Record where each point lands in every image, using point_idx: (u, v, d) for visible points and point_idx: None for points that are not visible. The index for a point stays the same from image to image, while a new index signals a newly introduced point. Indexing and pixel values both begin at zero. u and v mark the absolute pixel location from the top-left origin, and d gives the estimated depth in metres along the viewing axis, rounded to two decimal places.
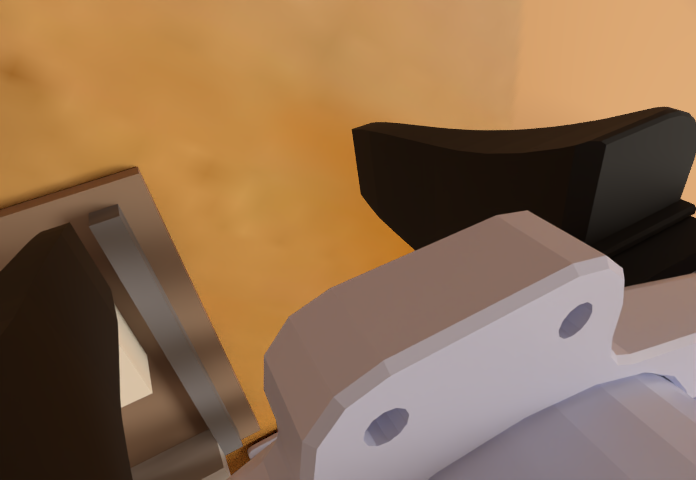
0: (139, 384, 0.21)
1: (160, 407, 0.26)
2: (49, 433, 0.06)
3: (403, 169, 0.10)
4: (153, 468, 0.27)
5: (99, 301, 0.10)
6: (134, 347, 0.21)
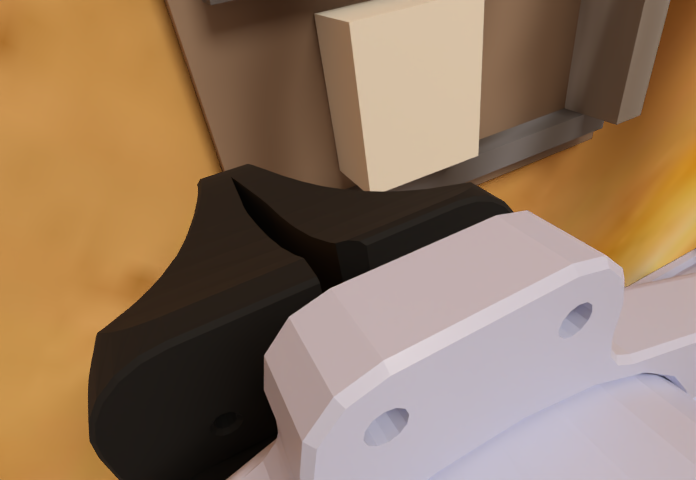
0: (462, 2, 0.14)
1: None
2: None
3: (259, 223, 0.09)
4: (592, 23, 0.20)
5: None
6: None
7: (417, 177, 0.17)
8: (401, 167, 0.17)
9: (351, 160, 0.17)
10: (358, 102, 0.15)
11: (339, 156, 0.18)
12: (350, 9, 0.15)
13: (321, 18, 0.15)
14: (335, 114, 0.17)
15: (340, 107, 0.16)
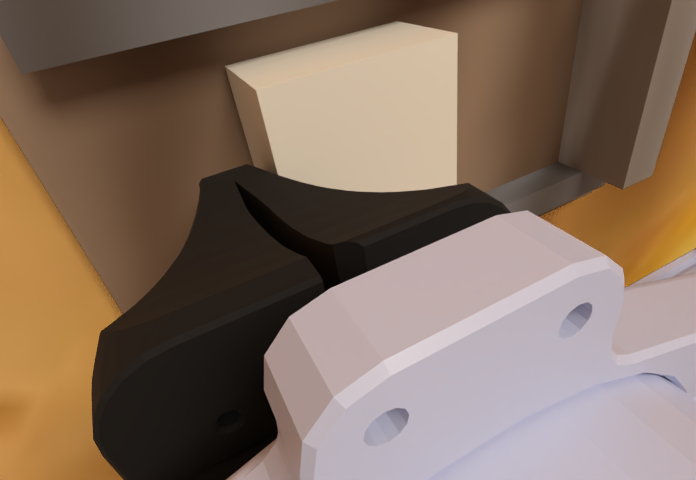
0: (426, 53, 0.10)
1: (497, 25, 0.14)
2: None
3: (258, 223, 0.09)
4: (591, 64, 0.16)
5: None
6: (360, 41, 0.11)
7: None
8: None
9: None
10: None
11: None
12: (272, 61, 0.11)
13: (231, 74, 0.11)
14: None
15: None
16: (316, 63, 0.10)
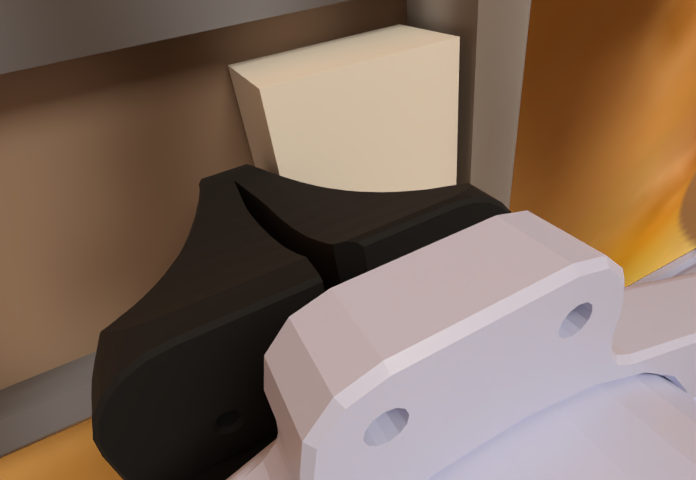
0: (428, 56, 0.10)
1: None
2: None
3: (258, 223, 0.09)
4: None
5: None
6: (363, 43, 0.11)
7: None
8: None
9: None
10: None
11: None
12: (275, 61, 0.11)
13: (234, 73, 0.11)
14: None
15: None
16: (319, 64, 0.10)
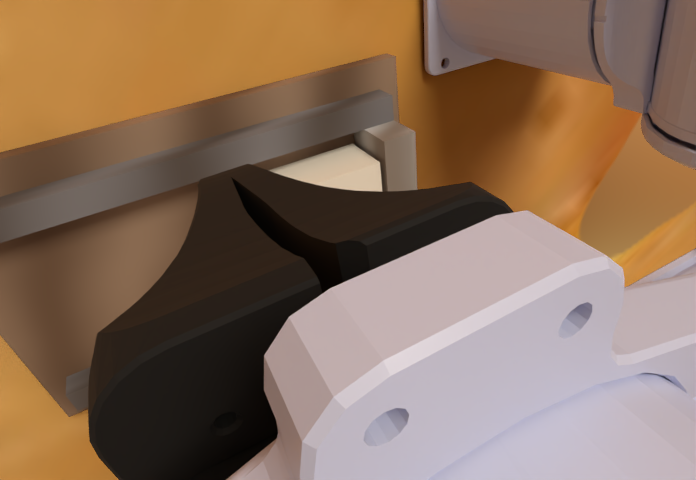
0: (363, 173, 0.20)
1: None
2: None
3: (259, 223, 0.09)
4: None
5: None
6: (330, 161, 0.20)
7: None
8: None
9: None
10: None
11: None
12: (282, 174, 0.20)
13: None
14: None
15: None
16: (305, 179, 0.19)
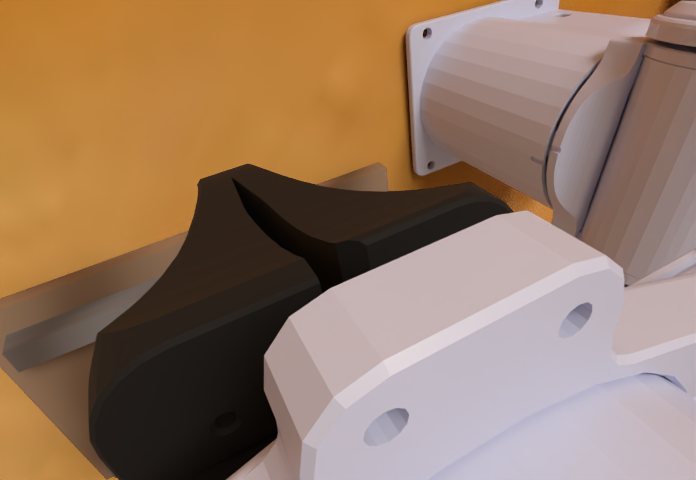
0: None
1: None
2: None
3: (259, 223, 0.09)
4: None
5: None
6: None
7: None
8: None
9: None
10: None
11: None
12: None
13: None
14: None
15: None
16: None
